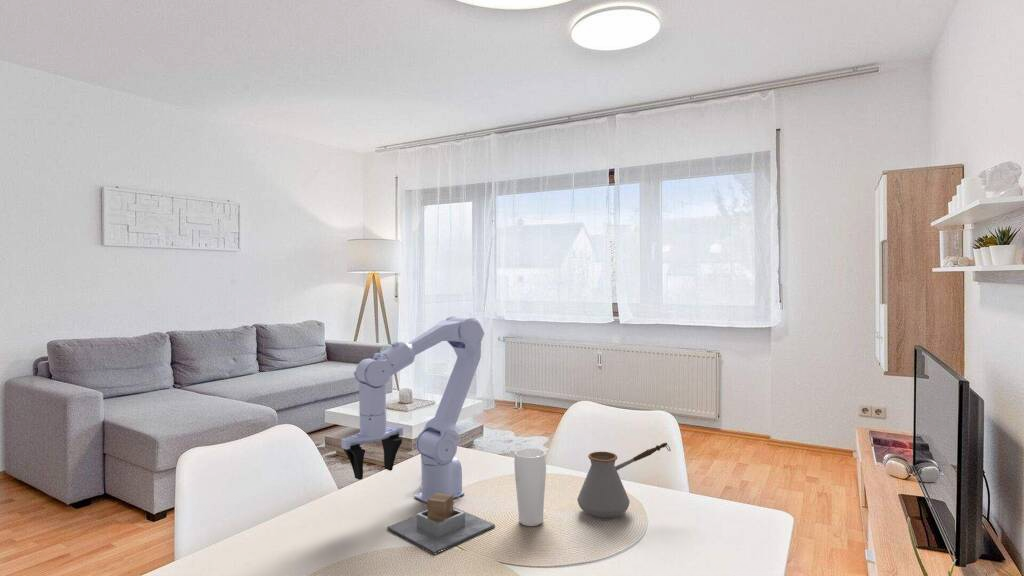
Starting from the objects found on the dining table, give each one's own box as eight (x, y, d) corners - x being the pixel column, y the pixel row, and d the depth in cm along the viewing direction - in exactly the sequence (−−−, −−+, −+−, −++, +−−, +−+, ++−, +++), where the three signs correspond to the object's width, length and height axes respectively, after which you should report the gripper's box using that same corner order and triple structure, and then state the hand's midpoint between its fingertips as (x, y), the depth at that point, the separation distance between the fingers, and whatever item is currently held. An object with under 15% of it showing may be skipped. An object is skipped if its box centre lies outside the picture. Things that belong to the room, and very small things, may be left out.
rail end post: (436, 520, 120) (436, 492, 119) (453, 522, 118) (453, 494, 118) (427, 528, 116) (427, 499, 116) (445, 530, 114) (444, 502, 114)
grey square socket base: (446, 506, 128) (446, 492, 128) (494, 527, 117) (494, 512, 117) (387, 529, 117) (387, 514, 117) (434, 554, 106) (434, 538, 106)
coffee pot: (585, 526, 117) (584, 455, 117) (572, 504, 128) (571, 440, 128) (681, 519, 120) (680, 450, 120) (660, 498, 131) (659, 435, 131)
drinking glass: (551, 518, 121) (550, 449, 121) (539, 531, 115) (538, 459, 115) (523, 513, 124) (522, 446, 124) (510, 525, 118) (509, 455, 118)
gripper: (390, 404, 131) (391, 461, 132) (333, 416, 121) (335, 478, 121) (408, 409, 127) (409, 468, 127) (350, 421, 116) (351, 486, 116)
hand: (374, 473), depth 124 cm, fingers open, 7 cm apart
